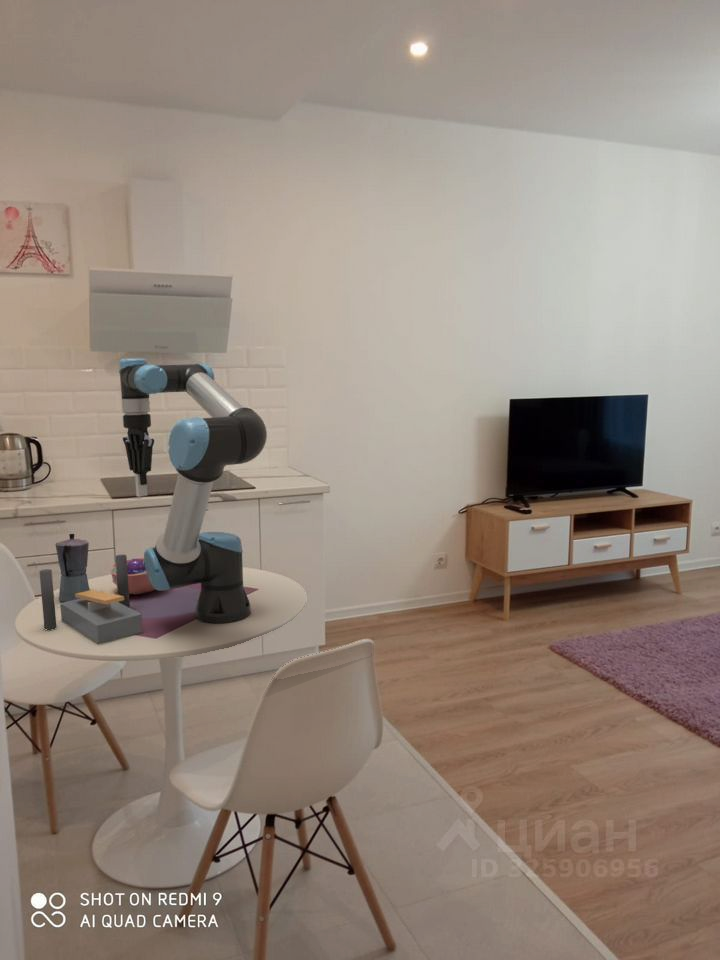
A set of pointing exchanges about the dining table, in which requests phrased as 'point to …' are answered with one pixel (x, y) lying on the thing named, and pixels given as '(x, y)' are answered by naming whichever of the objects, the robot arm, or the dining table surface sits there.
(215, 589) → the robot arm
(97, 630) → the block
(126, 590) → the post
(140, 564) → the cell model
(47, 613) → the post
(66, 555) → the moka pot
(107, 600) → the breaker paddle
